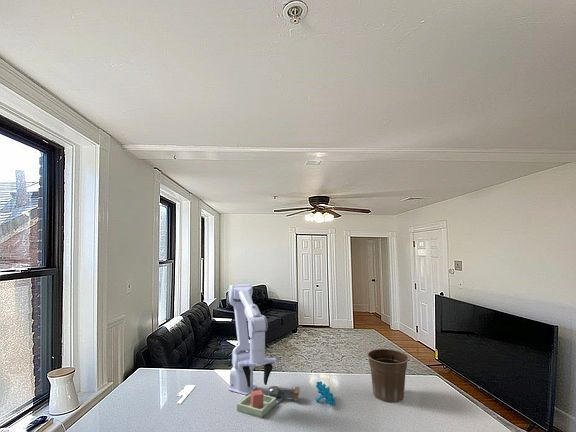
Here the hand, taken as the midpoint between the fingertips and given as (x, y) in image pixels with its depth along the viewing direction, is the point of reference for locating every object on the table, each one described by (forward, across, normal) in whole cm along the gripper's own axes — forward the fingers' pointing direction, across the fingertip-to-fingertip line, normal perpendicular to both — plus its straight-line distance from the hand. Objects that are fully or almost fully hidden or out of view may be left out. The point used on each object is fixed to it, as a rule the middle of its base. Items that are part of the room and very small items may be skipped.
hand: (257, 385), depth 129 cm
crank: (+8, +12, +3) cm, 14 cm away
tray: (+8, 0, 0) cm, 8 cm away
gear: (+9, +27, -4) cm, 28 cm away
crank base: (+8, +9, +6) cm, 14 cm away
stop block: (+8, 0, 0) cm, 8 cm away
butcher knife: (+9, -27, +19) cm, 34 cm away
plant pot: (+9, +53, -7) cm, 55 cm away
